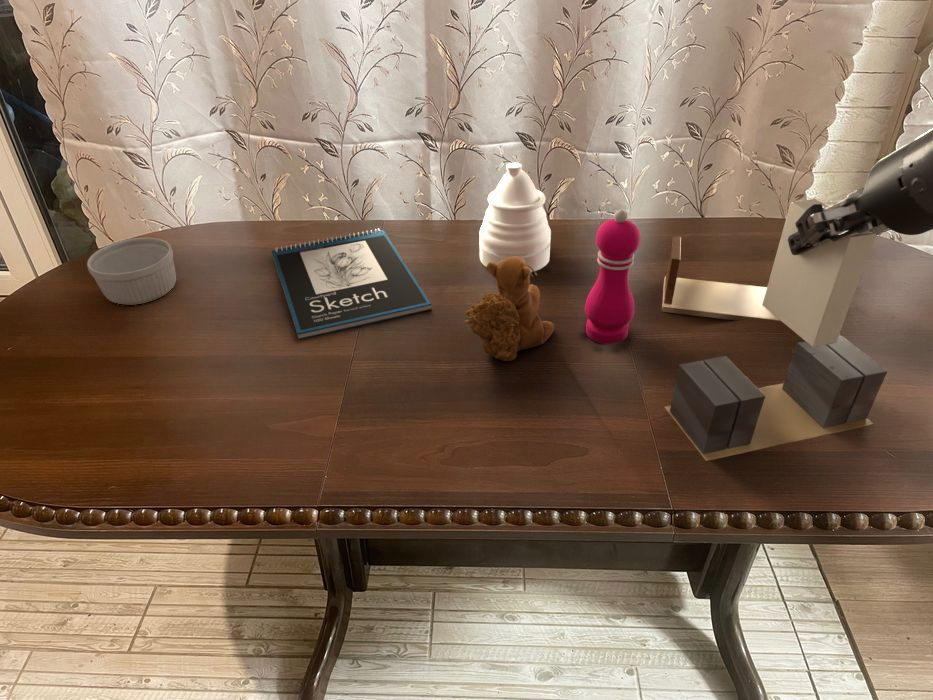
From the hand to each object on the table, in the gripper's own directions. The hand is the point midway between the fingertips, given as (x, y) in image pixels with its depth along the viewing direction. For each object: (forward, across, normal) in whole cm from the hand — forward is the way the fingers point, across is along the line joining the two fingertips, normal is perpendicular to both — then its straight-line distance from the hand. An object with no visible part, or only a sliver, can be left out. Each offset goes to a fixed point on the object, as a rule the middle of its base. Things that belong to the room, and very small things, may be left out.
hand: (807, 243), depth 70 cm
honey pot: (+52, +17, -18) cm, 57 cm away
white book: (+5, 0, +8) cm, 9 cm away
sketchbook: (+52, +48, -18) cm, 73 cm away
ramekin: (+57, +82, -23) cm, 103 cm away
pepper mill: (+32, +11, +2) cm, 34 cm away
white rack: (+33, -13, 0) cm, 36 cm away
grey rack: (+15, 0, +18) cm, 24 cm away
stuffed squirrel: (+33, +26, 0) cm, 42 cm away
